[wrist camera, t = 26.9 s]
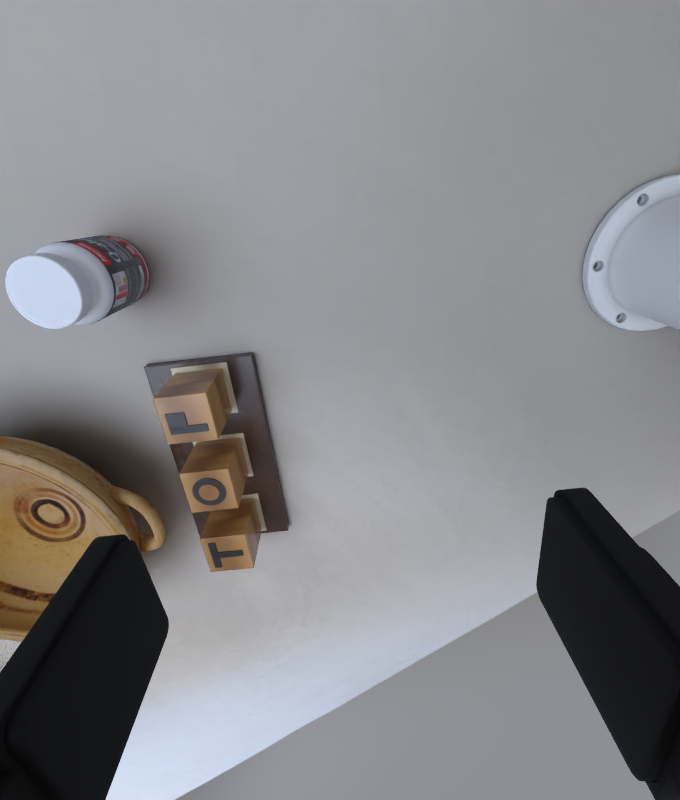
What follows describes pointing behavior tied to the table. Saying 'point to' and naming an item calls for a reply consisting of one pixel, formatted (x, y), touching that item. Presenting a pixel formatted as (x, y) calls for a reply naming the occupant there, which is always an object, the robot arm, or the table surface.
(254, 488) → the word board
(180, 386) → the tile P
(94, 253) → the pill bottle
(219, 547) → the tile
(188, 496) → the tile
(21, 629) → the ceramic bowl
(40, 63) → the table surface
